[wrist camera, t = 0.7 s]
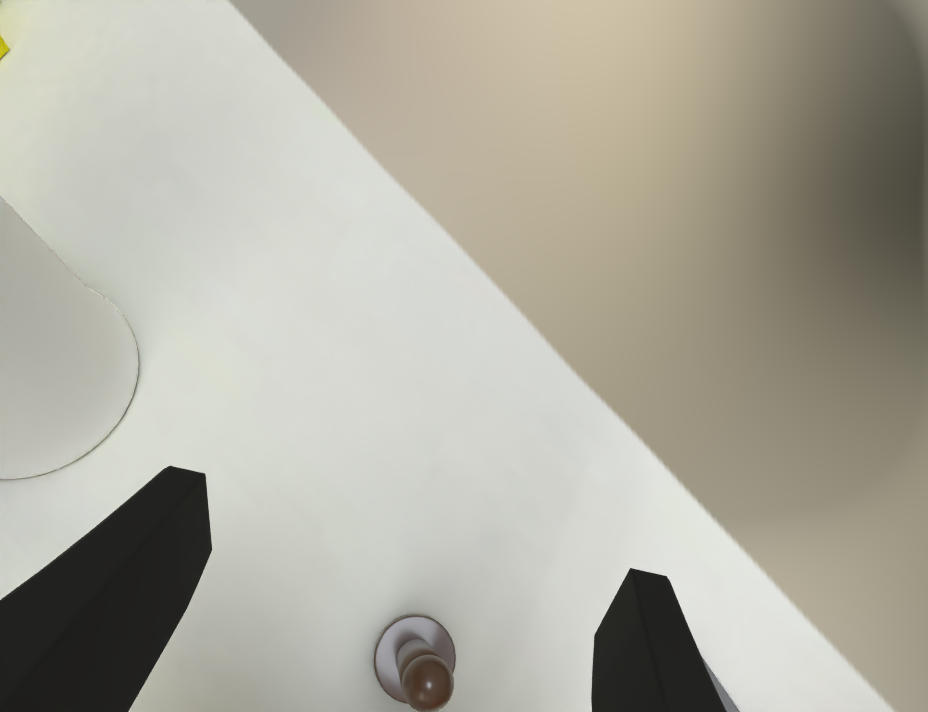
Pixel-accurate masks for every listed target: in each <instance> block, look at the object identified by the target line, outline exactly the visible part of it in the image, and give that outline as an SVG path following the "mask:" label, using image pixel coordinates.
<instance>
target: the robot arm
mask: <svg viewBox="0 0 928 712" xmlns="http://www.w3.org/2000/svg"><path fill="white" fill-rule="evenodd" d="M211 551H212V543H211V532H210V521H209V509H208V498H207V487H206V476H205V474H204V473H200V472H195V471H191V470H186V469H182V468H177V467H173V466H169V467H167V468H165V469H163V470H162V471H161V472H160V473H159V474H157V475H156V476H155V477H154V478H153V479H152V480H151V481H149V482H148V483H147V484H146V485H145V486H144V487H142V488H141V489H140V490H139V491H138V492H137V493H135V494H134V495H133V496H132V497H131V498H130V499H128V500H127V501H126V502H125V503H124V504H122V505H121V506H120V507H119V508H118V509H117V510H115V511H114V512H113V513H112V514H111V515H109V516H108V517H107V518H106V519H104V520H103V521H102V522H101V523H100V524H98V525H97V526H96V527H95V528H94V529H92V530H91V531H90V532H89V533H87V534H86V535H85V536H84V537H82V538H81V539H80V540H79V541H77V542H76V543H75V544H73V545H72V546H71V547H70V548H68V549H67V550H66V551H65V552H63V553H62V554H61V555H60V556H58V557H57V558H56V559H55V560H53V561H52V562H51V563H49V564H48V565H47V566H46V567H44V568H43V569H42V570H40V571H39V572H38V573H36V574H35V575H34V576H32V577H31V578H30V579H28V580H27V581H26V582H24V583H23V584H21V585H20V586H19V587H17V588H16V589H15V590H13V591H12V592H10V593H9V594H8V595H6V596H5V597H4V598H2V599H1V600H0V712H128V711H129V709H130V707H131V706H132V704H133V702H134V701H135V699H136V697H137V695H138V694H139V692H140V690H141V688H142V687H143V685H144V683H145V681H146V680H147V678H148V676H149V674H150V673H151V671H152V669H153V667H154V666H155V664H156V662H157V660H158V659H159V657H160V655H161V653H162V652H163V650H164V648H165V646H166V645H167V643H168V641H169V639H170V638H171V636H172V634H173V632H174V630H175V629H176V627H177V625H178V623H179V622H180V620H181V618H182V616H183V614H184V613H185V611H186V609H187V607H188V605H189V603H190V600H191V598H192V596H193V594H194V591H195V589H196V587H197V585H198V582H199V580H200V578H201V575H202V573H203V570H204V568H205V566H206V563H207V561H208V558H209V556H210V554H211ZM591 699H592V712H727V711H726V709H725V707H724V705H723V703H722V701H721V699H720V697H719V694H718V692H717V690H716V688H715V686H714V684H713V682H712V679H711V677H710V675H709V673H708V671H707V668H706V666H705V664H704V662H703V659H702V657H701V655H700V652H699V650H698V648H697V646H696V643H695V641H694V639H693V636H692V634H691V632H690V629H689V627H688V624H687V622H686V620H685V617H684V615H683V612H682V610H681V607H680V605H679V602H678V600H677V598H676V595H675V593H674V590H673V588H672V585H671V582H670V581H669V579H668V578H667V576H663V575H659V574H654V573H650V572H645V571H641V570H636V569H632V568H630V570H629V572H628V573H627V575H626V577H625V579H624V581H623V583H622V585H621V587H620V588H619V590H618V592H617V594H616V596H615V598H614V600H613V602H612V603H611V605H610V607H609V609H608V611H607V613H606V615H605V616H604V618H603V620H602V622H601V624H600V626H599V628H598V630H597V631H596V633H595V636H594V653H593V671H592V697H591Z"/></svg>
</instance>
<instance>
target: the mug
mask: <svg viewBox="0 0 928 712" xmlns="http://www.w3.org/2000/svg"><path fill="white" fill-rule="evenodd" d="M138 364H139V363H138V350H137V345H136V341H135V338H134V335H133V332H132V330H131V328H130V326H129V324H128V322H127V321H126V319H125V318H124V316H123V315H122V314H121V312H120V311H119V310H118V309H117V308H116V307H115V306H114V305H113V304H112V303H111V302H110V301H109V300H107V299H106V298H105V297H103V296H102V295H100V294H99V293H97V292H95V291H94V290H92V289H90V288H89V287H88V286H87V285H86V284H85V283H84V282H83V281H82V280H81V279H80V278H79V277H78V276H77V275H76V274H75V273H74V272H73V271H72V270H71V269H70V268H69V267H68V266H67V265H66V264H65V263H64V261H63V260H62V259H61V258H60V257H59V256H58V255H57V254H56V253H55V252H54V251H53V250H52V249H51V248H50V247H49V246H48V245H47V244H46V243H45V242H44V241H43V240H42V239H41V237H40V236H39V235H38V234H37V233H36V232H35V231H34V230H33V229H32V228H31V227H30V226H29V225H28V224H27V223H26V222H25V221H24V220H23V219H22V218H21V217H20V216H19V214H18V213H17V212H16V211H15V210H14V209H13V208H12V207H11V206H10V205H9V204H8V203H7V202H6V201H5V200H4V199H3V198H2V197H1V196H0V479H20V478H27V477H33V476H37V475H41V474H45V473H48V472H51V471H54V470H56V469H59V468H61V467H63V466H66V465H68V464H70V463H72V462H73V461H75V460H77V459H79V458H80V457H82V456H83V455H85V454H86V453H88V452H89V451H90V450H92V449H93V448H94V447H95V446H97V445H98V444H99V443H100V442H101V441H102V440H103V439H104V438H105V437H106V436H107V435H108V434H109V433H110V432H111V431H112V430H113V428H114V427H115V426H116V425H117V423H118V422H119V420H120V419H121V417H122V416H123V414H124V413H125V411H126V409H127V407H128V405H129V403H130V401H131V398H132V396H133V393H134V390H135V386H136V382H137V377H138Z"/></svg>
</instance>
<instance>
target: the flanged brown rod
mask: <svg viewBox="0 0 928 712" xmlns="http://www.w3.org/2000/svg"><path fill="white" fill-rule="evenodd" d="M455 661H456V655H455V648H454V644H453V641H452V639H451V637H450V635H449V633H448V632H447V630H446V629H445V628H444V627H443V626H442V625H441V624H440V623H439V622H437V621H436V620H434V619H432V618H430V617H428V616H425V615H420V614H410V615H405V616H402V617H400V618H397V619H396V620H394V621H393V622H391V623H390V624H389V625H388V626H387V627H386V628H385V629H384V630H383V632H382V633H381V635H380V637H379V639H378V641H377V644H376V648H375V653H374V669H375V673H376V676H377V679H378V681H379V683H380V685H381V687H382V688H383V689H384V691H385V692H386V693H387V694H388V695H390V696H391V697H392V698H394V699H395V700H397V701H400V702H403V703H406V704H409V705H410V706H411V707H412V708H413V709H415V710H417V711H419V712H436V711H438V710H440V709H441V708H443V707H444V706H445V705H446V704H447V703H448V701H449V700H450V698H451V696H452V693H453V689H454V678H453V672H454V668H455Z"/></svg>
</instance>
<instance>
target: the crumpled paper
mask: <svg viewBox="0 0 928 712" xmlns="http://www.w3.org/2000/svg"><path fill="white" fill-rule="evenodd" d="M8 50H9V48H8V46H7V45H6V43H5V42H4V40H3V39H2V37H1V35H0V58H1V57H2V56H3V55H4V54H5V53H6V52H7V51H8Z"/></svg>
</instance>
